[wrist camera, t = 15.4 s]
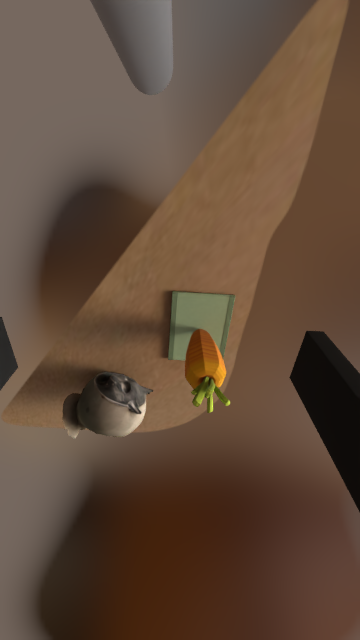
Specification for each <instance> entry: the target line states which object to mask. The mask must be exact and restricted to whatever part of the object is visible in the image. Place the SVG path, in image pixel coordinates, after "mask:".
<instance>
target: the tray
mask: <svg viewBox="0 0 360 640" xmlns="http://www.w3.org/2000/svg"><path fill="white" fill-rule="evenodd" d="M234 300H235V295H226V294H210V293H194V292H178V291H172V307H171V322H170V338H169V353H168V360H185V358H186V352H187V348H188V344H189V341H190V338H191V335H192V334H193V332H194V331H196V330H197V329H199V328H200V329H203V330H206V331H207V332H208V333H209V334H210V336H211V337H212V339H213V340H214V342H215V344H216V345H217V347H218V349H219V351H220V353H221V356H222V359H223V357H224V352H225V347H226V342H227V336H228V331H229V326H230V321H231V316H232V310H233V305H234Z"/></svg>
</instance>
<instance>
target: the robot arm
mask: <svg viewBox="0 0 360 640" xmlns="http://www.w3.org/2000/svg"><path fill="white" fill-rule="evenodd" d="M17 368H18V366H17V362H16V359H15V356H14V353H13V350H12V347H11V344H10V341H9V338H8V335H7V332H6V329H5V326H4V323H3V320H2V317H0V390H1V389H2V387H3V386H4V385H5V383H6V382H7V381H8V380H9V378H10V377H11V376H12V374H13V373H14V372H15V370H16V369H17ZM290 379H291V381H292V383H293V385H294V387H295V389H296V391H297V392H298V395H299V397H300V398H301V400H302V402H303V404H304V406H305V408H306V410H307V412H308V414H309V416H310V418H311V420H312V421H313V423H314V425H315V427H316V429H317V431H318V433H319V435H320V437H321V439H322V440H323V443H324V444H325V446H326V448H327V450H328V452H329V454H330V456H331V458H332V460H333V462H334V464H335V465H336V468H337V469H338V471H339V473H340V475H341V477H342V479H343V481H344V483H345V485H346V487H347V489H348V490H349V492H350V494H351V496H352V498H353V500H354V502H355V504H356V506H357V508H358V510H359V512H360V373H359V372H358V371H357V370H356V369H355V368H354V367H353V365H352V364H351V363H350V362H349V361H348V360H347V358H346V357H345V356H344V355H343V354H342V353H341V351H340V350H339V349H338V348H337V347H336V346H335V344H334V343H333V342H332V341H331V340H330V339H329V338H328V336H327V335H326V334H325V333H324V332H320V331H306V334H305V337H304V339H303V342H302V345H301V348H300V351H299V353H298V356H297V359H296V362H295V364H294V367H293V370H292V373H291V375H290Z"/></svg>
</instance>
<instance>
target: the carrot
mask: <svg viewBox="0 0 360 640" xmlns="http://www.w3.org/2000/svg"><path fill="white" fill-rule="evenodd" d="M225 376H226V369H225V365H224V362H223V359H222V356H221V353H220V351H219V349H218V347H217V345H216V344H215V342H214V340H213V339H212V337H211V336H210V334H209V333H208V332H207V331H206V330H203V329H200V328H199V329H197V330H196V331H194V332H193V334H192V335H191V338H190V341H189V344H188V348H187V352H186V358H185V377H186V380H187V381H188V382H189V383H190V385H191V386H192V387H193V389H194V390H193V391H192V392H191V393H192V394H193V395H195V397H194V399H193V401H192V403H193V404H194V405H195V406H196V407H198V406H199V405H200V404H201V402H202V400H203V398H204V396H205V398H207V412H208V413H210V412H212V411H213V398H212V393H213V392H214V391H215V393H216V394H217V396H218V397H219V399H220V400H221V401H222V402H223V403H224V404H225V405H226V406H228V405H229V404H230V401H229V400H228V399H227V398H226V397H225V396H224V395H223V393H222V392H221V391H220V390H219V388H218V387H220V386H221V385H222V383H223V380H224V378H225Z"/></svg>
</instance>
